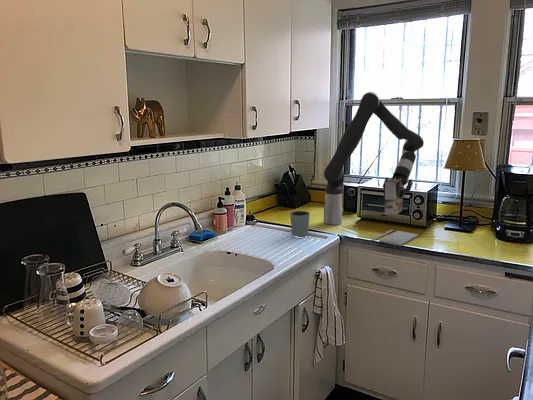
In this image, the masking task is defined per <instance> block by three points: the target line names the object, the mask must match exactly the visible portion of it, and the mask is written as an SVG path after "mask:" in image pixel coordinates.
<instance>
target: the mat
mask: <svg viewBox="0 0 533 400" xmlns="http://www.w3.org/2000/svg"><path fill="white" fill-rule="evenodd" d="M418 237H419V234H417V233H412V232H407V231H401V230H396V231H395V232H394V231H393V232H392V233H391V234H388V235H387V236H385V237H383V238H381V239H379V243H382V242H383V243H384V244H388V245H391V246H398V247H402V246H404V245H405V244H408V243H409V242H410V241H412V240H414V239H416V238H418Z"/></svg>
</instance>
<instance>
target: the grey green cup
mask: <svg viewBox="0 0 533 400" xmlns="http://www.w3.org/2000/svg"><path fill="white" fill-rule="evenodd" d="M310 214H311V213H310V212H309V211H306V210H296V211H295V210H294V211H291V212H290V213H289V217H290V218H289V219H290V228H291V236H292V235H294V236H298V237H305V236H307V235H308V236H309V234H308V232H309V230H310V229H309V227H310V218H311V217H310ZM309 233H310V232H309Z"/></svg>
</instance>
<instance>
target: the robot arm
mask: <svg viewBox="0 0 533 400" xmlns="http://www.w3.org/2000/svg"><path fill="white" fill-rule="evenodd" d="M373 115H375V117H377V118H378V119H379V120H380V121H381V122H382V123H383V125H384V126H385V127H386V128H387V129H388V131H390V133H392V135H394V136H395V137H396V138H397V139H398V140H401V141H402V140H406V141H405V142H404V143H403V145H402V151H401V156H400V158H399V160H398V162H397V164H396V167H395V169H394V172H393V174H392V177H391V178H389V177H385V179H384V182H383V184H382V188H383V190H384V192H383V196H384V197H385V182H386V181H388V180H389V179H400V180H401V179H403V181H402V184H401V188H402V190H401V192H400V194H399V198H400V199H402V200H403V198H404V196H405V194H406V193H410V191H411V190H412V187H413V184H414V182H413V180H412V179H409V178H410V175H411V172H413V167H414V165H415V161H416V158H417V155H416V153H415V152H416V151H418V150H420V149H422V148H423V147H424V143H425V142H424V139H423V138H422V136H421V135H419V133H416V132H414V131H413V130H411V129H410V128H408V126H406V125H405V124H404V123H403V122H402V121H401V120H400V119H399V118H398V117H396V116H395V114H393V113H392V112H391V111H390V110H389V109H388V107H387V106H386V105H385V104H384V103H383V102H382V100H381V98H380V96H379V95H378V94H377V93H376V92H373V91H368V92H366V93H364V94H363V95H362V97H361V99H360V103H359V106H358V109H357V110H356V113H355V115H354V117H353V118H352V120H351V122H349V124H348V126H347V127H346V129H345V131H344V132H343V134H342V136H341V138H340V140H339V143H338V145H337V146H336V147H337V148H336V149H335V152H334V154H333V156H332V158H331V160H330V161H329V162H328V164H327V166H326V167H325V169H324V171H323V176H324V179H325V180H326V181H327V183H326V187H325V190H324V191H325V198H324V199H325V200H324V201H325V202H324V203H325V205H324V206H323V223H325V224H326V225H329V224H330V225H331V226H337V225H341V224H342V223H343V219H342V218H343V190H344V184H345V183H344V181H345V180H344V179H345V171H344V166H345V164H346V162H347V161H348V159H349V158H350V157H351V155H352V154H353V153H354V152H355V151H356V149H357V147H358V145H359V143H360V141H361V139H362V137H363V135H364V133H365V131H366V127H367V125H368V123H369V121H370V119H371V117H372V116H373ZM405 186H406V187H405Z"/></svg>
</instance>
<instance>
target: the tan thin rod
mask: <svg viewBox="0 0 533 400" xmlns="http://www.w3.org/2000/svg"><path fill="white" fill-rule="evenodd" d="M393 232H394V229H389V230H387V231H386V232H384V233H382V234H380V235H377V236H375V237H374V238H371V239H370V242H375V241H376V239H377V240H380V238H381V239H382V237H383V238H384V236H385V237H386V235H387V236H388V235H389V234H390V233H393ZM374 240H375V241H374Z"/></svg>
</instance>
